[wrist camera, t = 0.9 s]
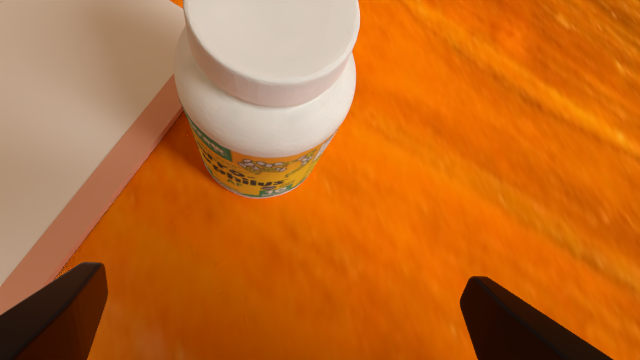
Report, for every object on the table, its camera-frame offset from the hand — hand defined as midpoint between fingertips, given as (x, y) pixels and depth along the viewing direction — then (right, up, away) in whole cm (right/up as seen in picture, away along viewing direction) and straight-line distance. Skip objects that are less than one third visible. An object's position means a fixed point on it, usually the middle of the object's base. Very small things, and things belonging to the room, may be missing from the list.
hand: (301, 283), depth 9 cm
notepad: (-16, +6, +12) cm, 21 cm away
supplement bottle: (-3, +5, +14) cm, 15 cm away
